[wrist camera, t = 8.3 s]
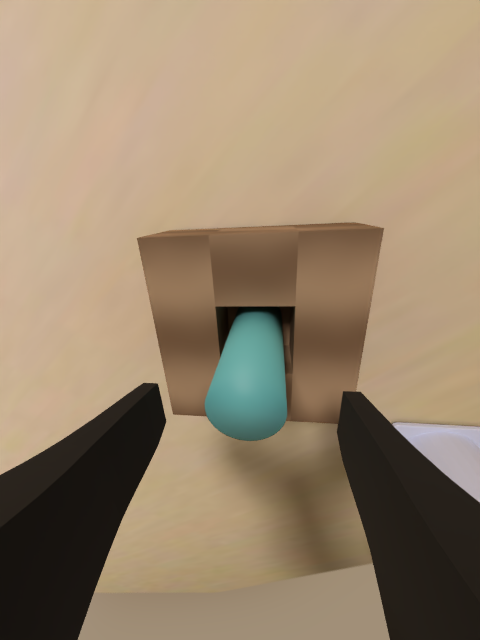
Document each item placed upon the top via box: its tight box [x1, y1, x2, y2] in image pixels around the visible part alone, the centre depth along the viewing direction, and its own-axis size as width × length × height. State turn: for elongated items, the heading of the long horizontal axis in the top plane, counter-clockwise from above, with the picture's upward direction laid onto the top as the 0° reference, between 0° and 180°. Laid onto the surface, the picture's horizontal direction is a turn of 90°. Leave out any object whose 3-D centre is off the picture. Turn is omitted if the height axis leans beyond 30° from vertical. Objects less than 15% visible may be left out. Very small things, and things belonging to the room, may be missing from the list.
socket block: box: [137, 223, 384, 424], centre depth 17 cm, size 12×12×4 cm
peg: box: [205, 306, 287, 441], centre depth 14 cm, size 3×3×9 cm
